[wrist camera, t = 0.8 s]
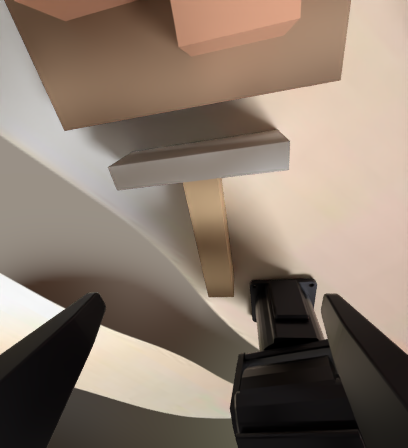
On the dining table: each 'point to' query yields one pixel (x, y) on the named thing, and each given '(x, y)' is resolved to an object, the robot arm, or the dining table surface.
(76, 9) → the tile
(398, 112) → the dining table surface
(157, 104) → the board
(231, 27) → the tan square block
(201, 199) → the scraper
